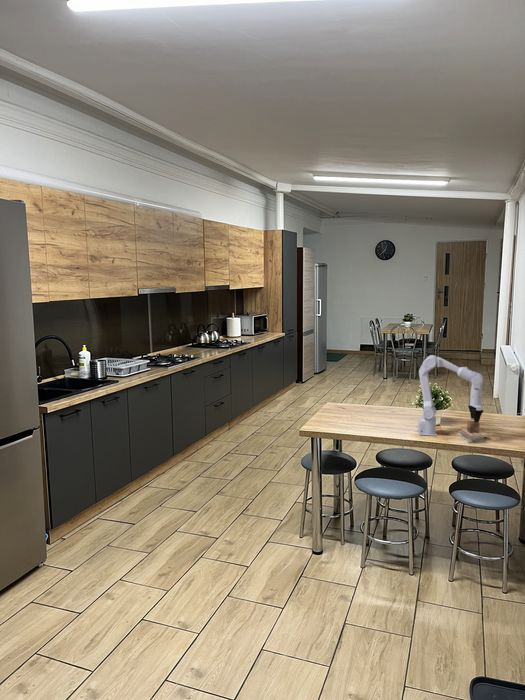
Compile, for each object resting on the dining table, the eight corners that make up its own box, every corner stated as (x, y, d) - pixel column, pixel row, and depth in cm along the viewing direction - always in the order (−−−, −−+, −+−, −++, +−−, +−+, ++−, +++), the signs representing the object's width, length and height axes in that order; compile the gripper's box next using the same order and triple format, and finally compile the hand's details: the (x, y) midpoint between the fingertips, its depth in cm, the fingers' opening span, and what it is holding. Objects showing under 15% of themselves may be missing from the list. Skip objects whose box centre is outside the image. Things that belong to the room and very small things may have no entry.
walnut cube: (469, 432, 294) (470, 423, 293) (466, 429, 299) (467, 420, 298) (479, 432, 293) (479, 423, 293) (476, 430, 298) (476, 421, 298)
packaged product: (487, 435, 288) (468, 435, 288) (487, 444, 288) (468, 444, 289) (475, 426, 306) (457, 426, 306) (474, 434, 306) (456, 434, 306)
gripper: (487, 399, 286) (485, 424, 288) (480, 393, 300) (479, 417, 302) (473, 398, 287) (471, 423, 289) (467, 393, 301) (466, 416, 303)
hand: (474, 420), depth 295 cm, fingers open, 7 cm apart
